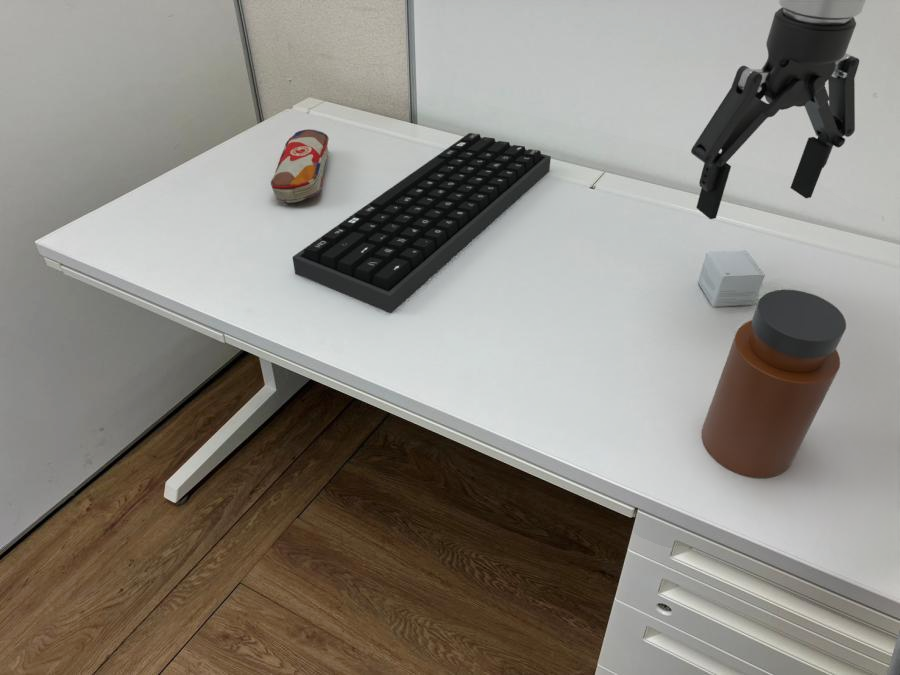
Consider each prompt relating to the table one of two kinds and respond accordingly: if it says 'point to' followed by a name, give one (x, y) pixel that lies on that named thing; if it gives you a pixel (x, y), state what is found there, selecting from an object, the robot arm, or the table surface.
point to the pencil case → (301, 166)
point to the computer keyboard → (421, 221)
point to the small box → (730, 278)
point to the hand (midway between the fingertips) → (754, 202)
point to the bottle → (773, 383)
